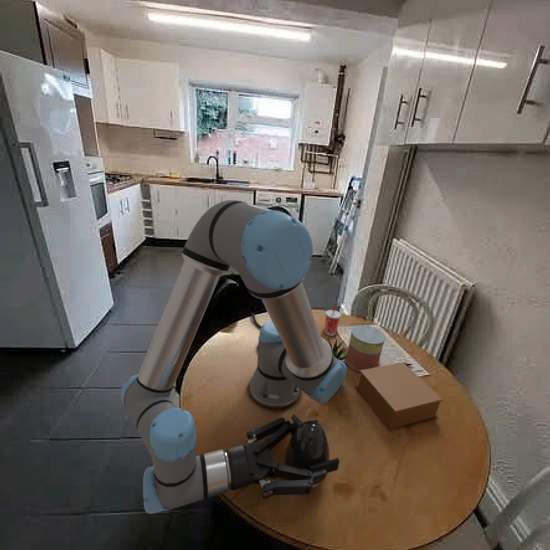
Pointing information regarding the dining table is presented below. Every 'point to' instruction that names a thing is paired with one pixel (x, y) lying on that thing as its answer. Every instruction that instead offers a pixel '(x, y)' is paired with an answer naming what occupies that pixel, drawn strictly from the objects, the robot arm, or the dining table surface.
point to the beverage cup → (332, 321)
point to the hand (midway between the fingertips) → (326, 443)
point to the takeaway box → (398, 394)
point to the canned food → (364, 347)
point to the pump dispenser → (307, 446)
